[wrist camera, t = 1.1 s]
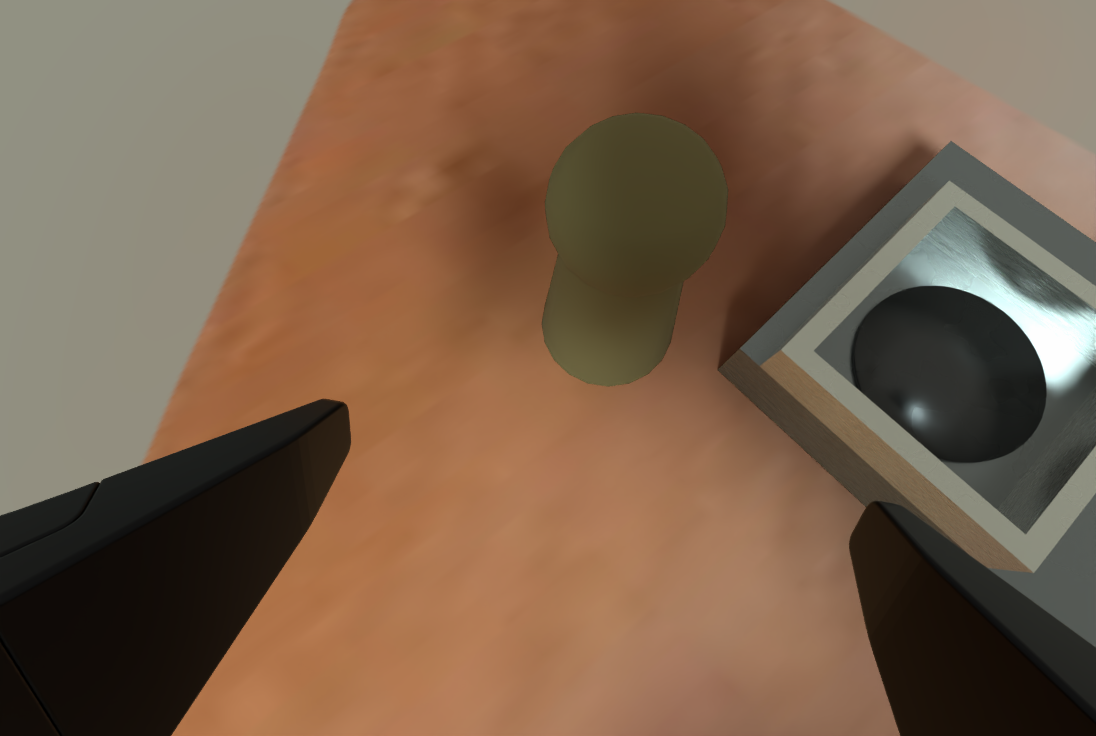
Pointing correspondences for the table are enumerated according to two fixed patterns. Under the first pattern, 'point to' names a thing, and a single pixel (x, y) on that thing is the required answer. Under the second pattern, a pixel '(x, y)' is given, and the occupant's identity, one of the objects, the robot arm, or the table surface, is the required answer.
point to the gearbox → (953, 376)
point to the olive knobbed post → (627, 242)
